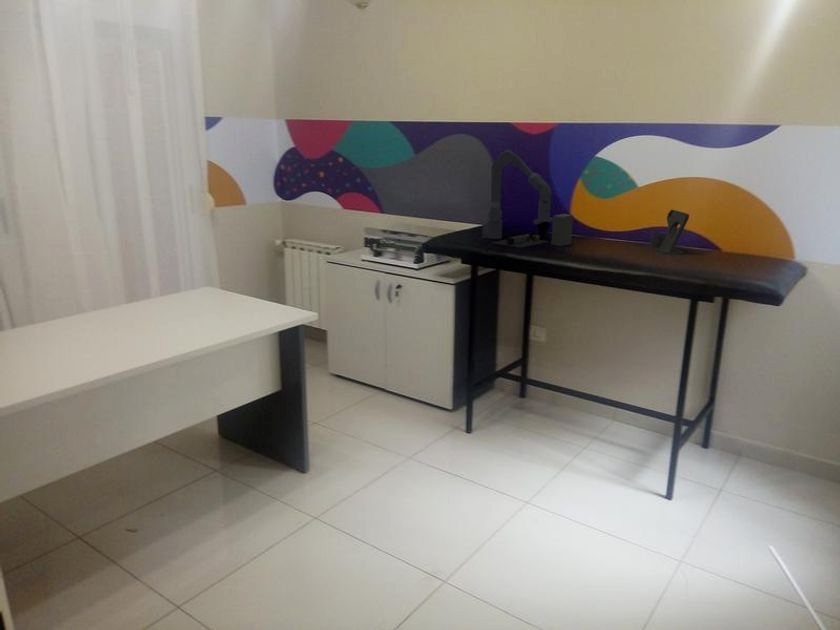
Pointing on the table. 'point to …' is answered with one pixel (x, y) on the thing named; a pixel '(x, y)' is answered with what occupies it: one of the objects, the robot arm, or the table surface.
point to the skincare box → (562, 229)
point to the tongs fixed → (518, 236)
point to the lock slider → (535, 237)
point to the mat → (522, 244)
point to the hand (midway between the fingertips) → (542, 237)
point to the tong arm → (517, 239)
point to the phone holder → (670, 234)
